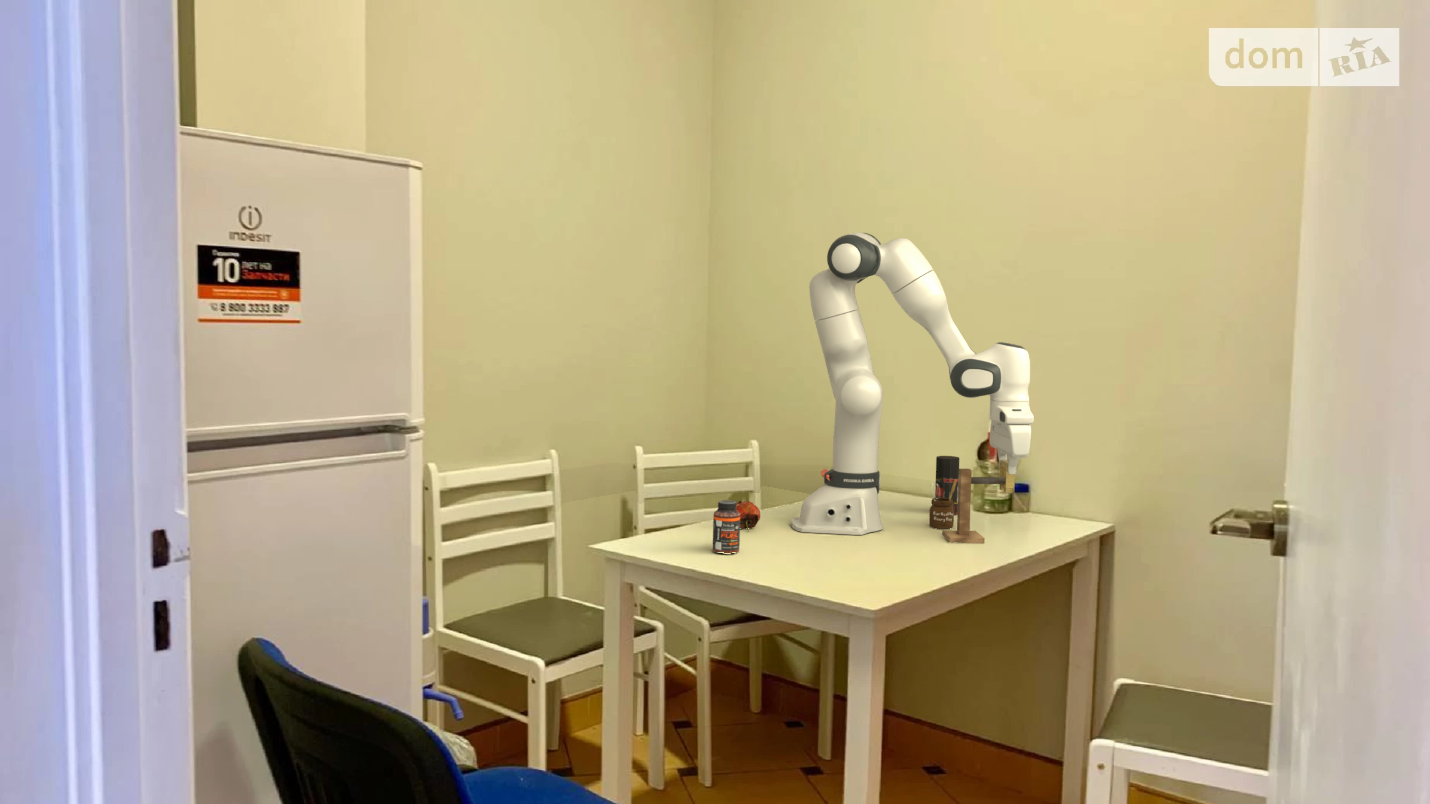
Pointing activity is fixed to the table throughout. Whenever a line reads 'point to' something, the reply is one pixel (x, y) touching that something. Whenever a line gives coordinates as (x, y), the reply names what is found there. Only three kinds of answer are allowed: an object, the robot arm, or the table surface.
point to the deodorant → (947, 478)
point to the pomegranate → (748, 514)
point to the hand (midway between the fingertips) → (1007, 471)
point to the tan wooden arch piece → (1006, 478)
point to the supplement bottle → (726, 527)
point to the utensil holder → (942, 511)
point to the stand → (967, 508)
